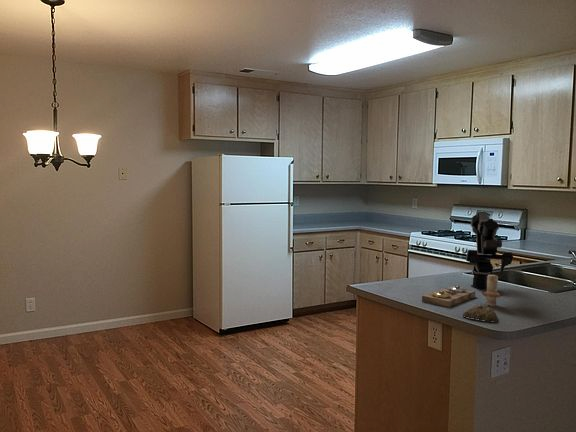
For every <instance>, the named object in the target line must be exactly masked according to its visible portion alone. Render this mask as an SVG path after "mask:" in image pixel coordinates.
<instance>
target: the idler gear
mask: <svg viewBox="0 0 576 432" xmlns="http://www.w3.org/2000/svg"><path fill="white" fill-rule="evenodd" d="M498 280H499V276H498V275H496V274H492V275H488V278H487V288H486V290H485V291H482V292H481V294H482V296H483V297H485V306H488V305H490V306H489V307H496V306H497V299H499V298H501V297H502V293H500V292H498Z"/></svg>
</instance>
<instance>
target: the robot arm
mask: <svg viewBox="0 0 576 432" xmlns="http://www.w3.org/2000/svg"><path fill="white" fill-rule="evenodd" d="M470 227H472V229H471V230H472V232H473V233H474V234H475V237H476V238H475V240H476V241H475V242H476V243H475V244H476V249H467V251H466V257H465V258H466V259H465V261H466V262H468V263H469V264H472V266H471V275H472V276H473V278H472V284H471V285H470V286H471V287H473V288H476V289H479V290H483V289H484V290H485V289H486V290H487V278H488V275H493V271H494V266H493V264H492V262H491V260H496V261H501V262H500V274H501V275H503V273H504V270H505V268H506V266H509V265H511V264H512V262H513V259H514V254H513V252H511V251H502V253H501V254H497V253H498V248H499V249H501V248H502V246H503V241H502V239H497V240H495V239H496V235H497V232H498V230H499V224H498V222H497V221H496V220H494V219H493V218H490V216H489V212H487V211H478V212H476V214H475V215H473V216H472V217H471V222H470Z"/></svg>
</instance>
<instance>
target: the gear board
mask: <svg viewBox="0 0 576 432" xmlns="http://www.w3.org/2000/svg"><path fill="white" fill-rule="evenodd" d="M448 287H452V286H447V287H444V288H441V289H438V290H436V291H434V292H437V291H444V292H447V293H449V294H451V298H446V299H443V298H436V297H434V296H432V292H429V293H426V294H422V295H421V302H423V303H428V304H433V305H437V306H441V307H445V306H446V307H445V308H450V307H452V305H453V306H455V305H458V304H461V303H463V302H465V300H466V301H467V300H470V298H471V299H473V298H475V297H476V291H475V290H472V289H471V290H470V289H467V290H466V292H461V293H459V292H452V291H448ZM462 301H463V302H462ZM457 303H458V304H457ZM454 304H455V305H454ZM449 306H450V307H449Z"/></svg>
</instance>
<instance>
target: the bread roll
mask: <svg viewBox="0 0 576 432" xmlns="http://www.w3.org/2000/svg"><path fill="white" fill-rule="evenodd" d="M463 316H465V317H469V318H474V319H479V320H485V321H496V320H497V321H498V319H499V317H498V315H497V313H496V312H495V310H494V309H492V308H491V307H490V306H488V305H483V304H480V305H475V306H473V307H470V308H469V309H467V310H466V311H464V313H462V317H463ZM497 321H496V322H497Z"/></svg>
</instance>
